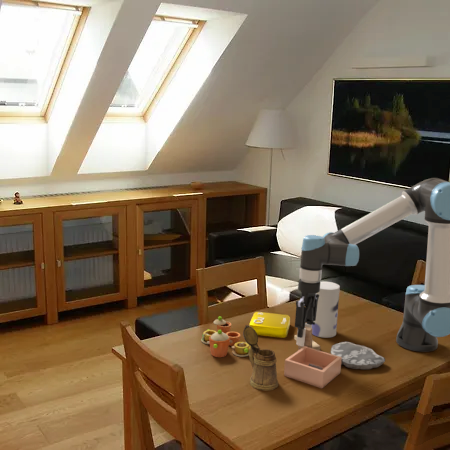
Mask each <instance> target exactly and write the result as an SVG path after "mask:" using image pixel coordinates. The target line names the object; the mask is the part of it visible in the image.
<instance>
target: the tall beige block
mask: <svg viewBox="0 0 450 450" xmlns="http://www.w3.org/2000/svg"><path fill="white" fill-rule="evenodd" d="M305 329H306V332H305V342H304V346H306V347H310V348H312V340H313V334H312V328H309V327H306V326H305ZM297 347H298V348H297V351H298V350H300V349H301V348H303V347H302V346H299V345H297Z"/></svg>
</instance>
